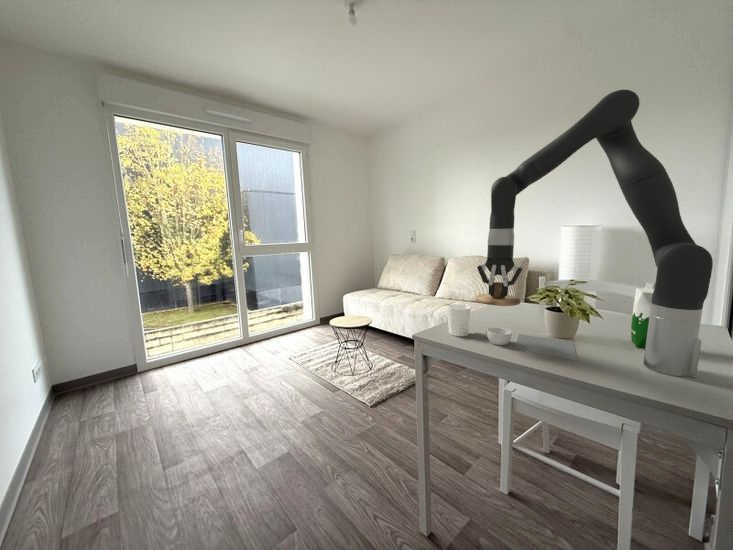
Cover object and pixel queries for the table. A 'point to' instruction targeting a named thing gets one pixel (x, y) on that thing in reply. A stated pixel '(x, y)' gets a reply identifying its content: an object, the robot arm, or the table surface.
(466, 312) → the white cup
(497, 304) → the lid
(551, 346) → the mat
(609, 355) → the table surface
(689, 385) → the table surface
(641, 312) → the milk carton
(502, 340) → the white bowl
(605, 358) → the table surface
